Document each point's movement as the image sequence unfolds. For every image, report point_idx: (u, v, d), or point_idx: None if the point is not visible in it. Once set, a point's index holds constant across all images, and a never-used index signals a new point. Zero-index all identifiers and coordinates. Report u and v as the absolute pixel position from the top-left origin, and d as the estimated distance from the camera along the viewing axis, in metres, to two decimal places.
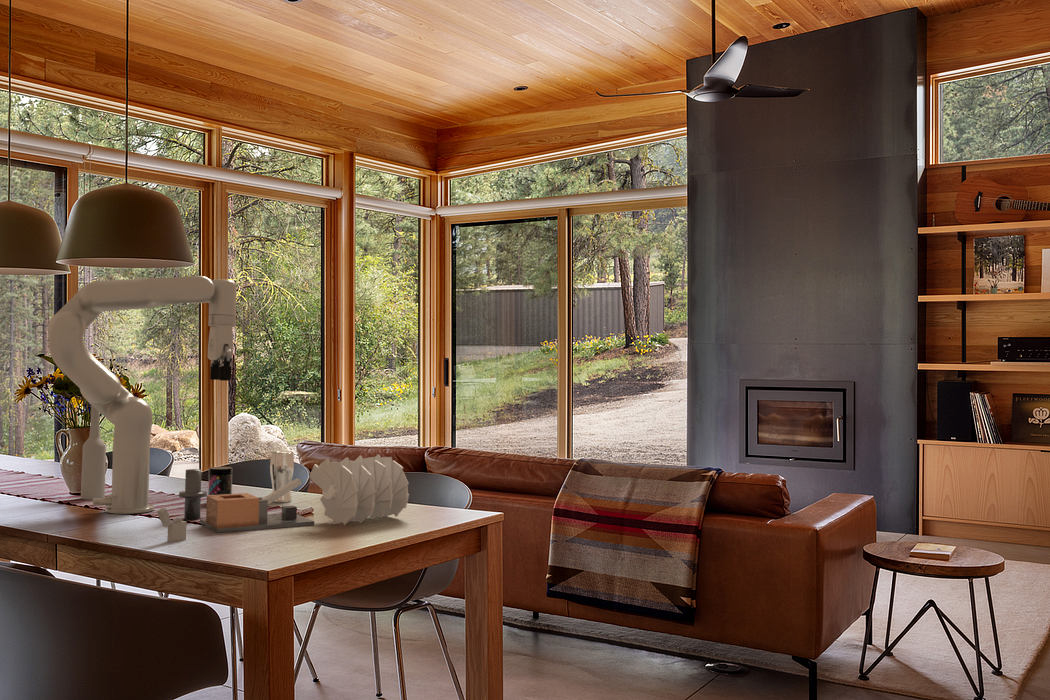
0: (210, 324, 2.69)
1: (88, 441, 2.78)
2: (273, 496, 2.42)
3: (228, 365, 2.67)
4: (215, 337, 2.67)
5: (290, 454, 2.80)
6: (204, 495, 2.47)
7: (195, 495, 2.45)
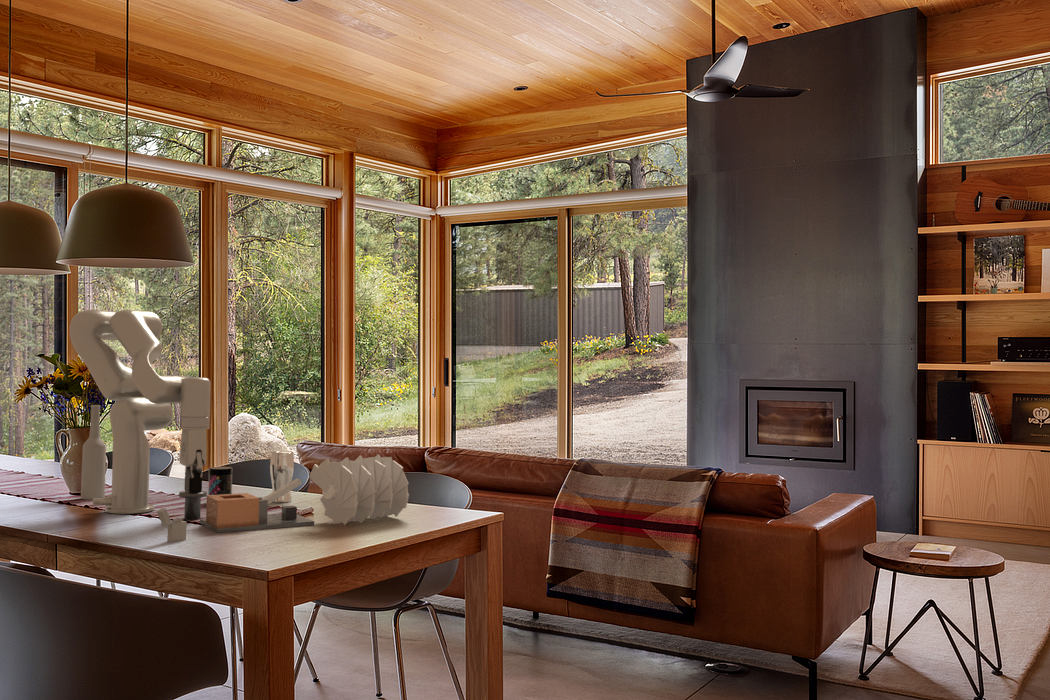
0: (182, 427, 2.45)
1: (88, 441, 2.78)
2: (273, 496, 2.42)
3: (198, 477, 2.45)
4: (187, 442, 2.44)
5: (290, 454, 2.80)
6: (204, 495, 2.47)
7: (195, 495, 2.45)
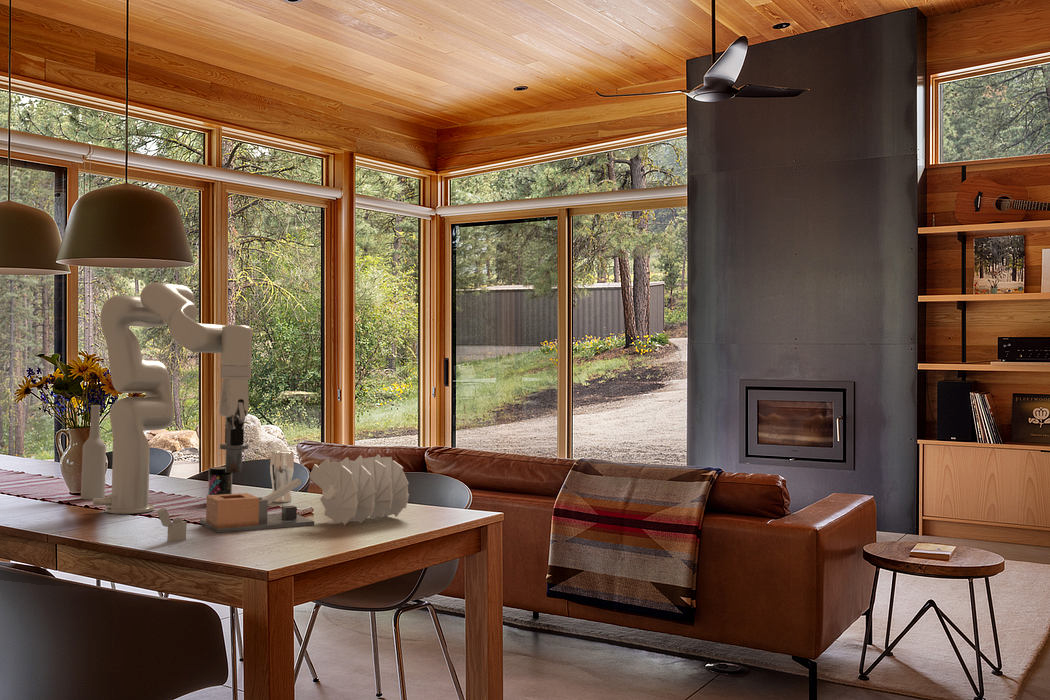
0: (223, 376, 2.36)
1: (88, 441, 2.78)
2: (273, 496, 2.42)
3: (240, 428, 2.35)
4: (228, 391, 2.34)
5: (290, 454, 2.80)
6: (246, 447, 2.37)
7: (237, 447, 2.35)
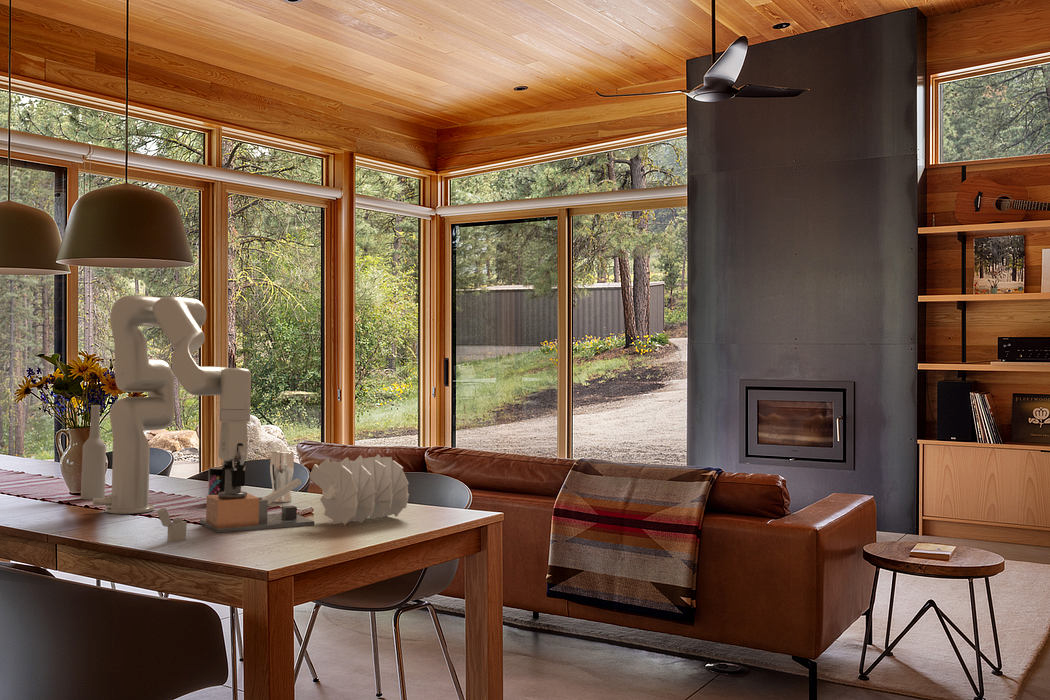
0: (222, 420, 2.35)
1: (88, 441, 2.78)
2: (273, 496, 2.42)
3: (241, 469, 2.34)
4: (227, 435, 2.34)
5: (290, 454, 2.80)
6: (244, 496, 2.37)
7: (235, 496, 2.35)
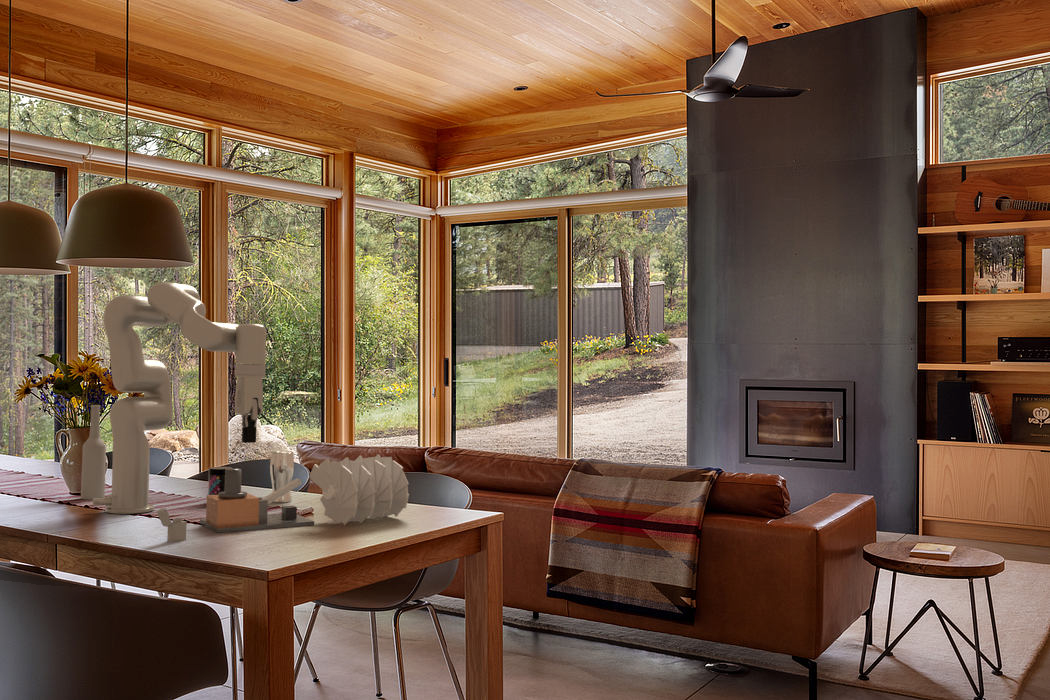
0: (237, 375, 2.38)
1: (88, 441, 2.78)
2: (273, 496, 2.42)
3: (253, 425, 2.39)
4: (243, 390, 2.36)
5: (290, 454, 2.80)
6: (244, 496, 2.37)
7: (235, 496, 2.35)
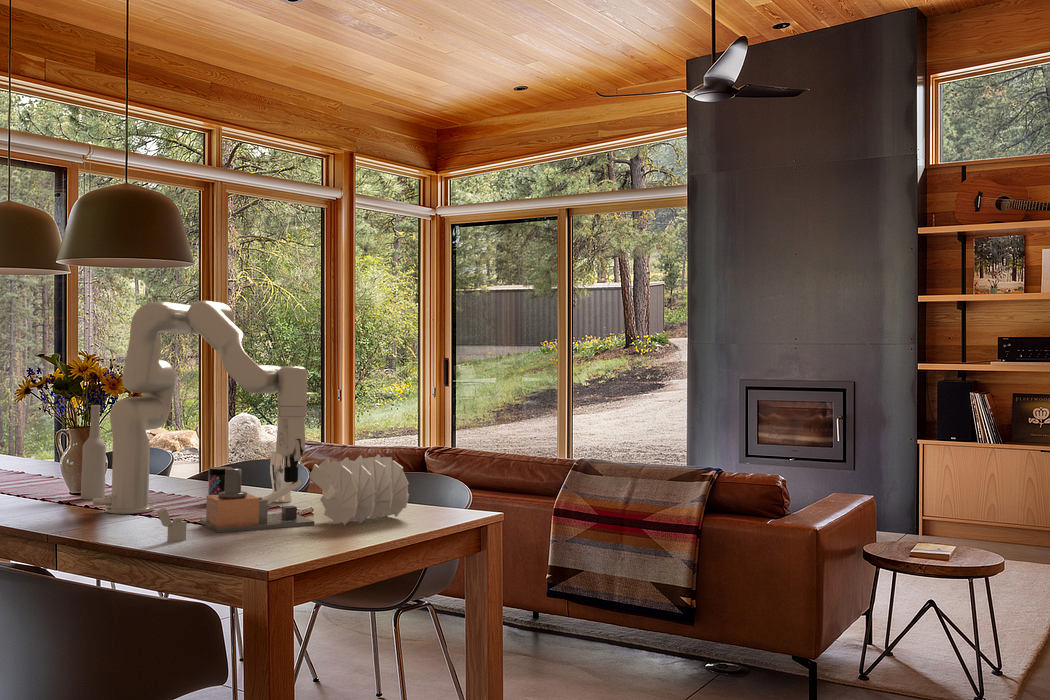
0: (280, 416, 2.44)
1: (88, 441, 2.78)
2: (273, 496, 2.42)
3: (295, 465, 2.45)
4: (286, 431, 2.42)
5: None
6: (244, 496, 2.37)
7: (235, 496, 2.35)
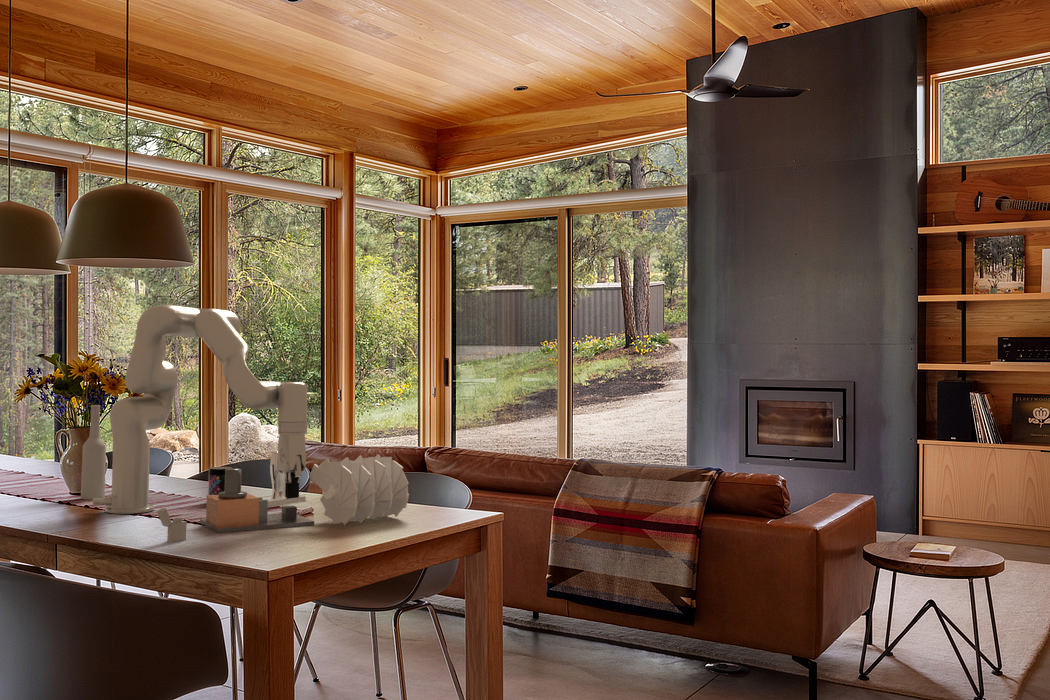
0: (280, 432, 2.43)
1: (88, 441, 2.78)
2: (275, 501, 2.43)
3: (296, 481, 2.45)
4: (287, 447, 2.42)
5: None
6: (244, 496, 2.37)
7: (235, 496, 2.35)
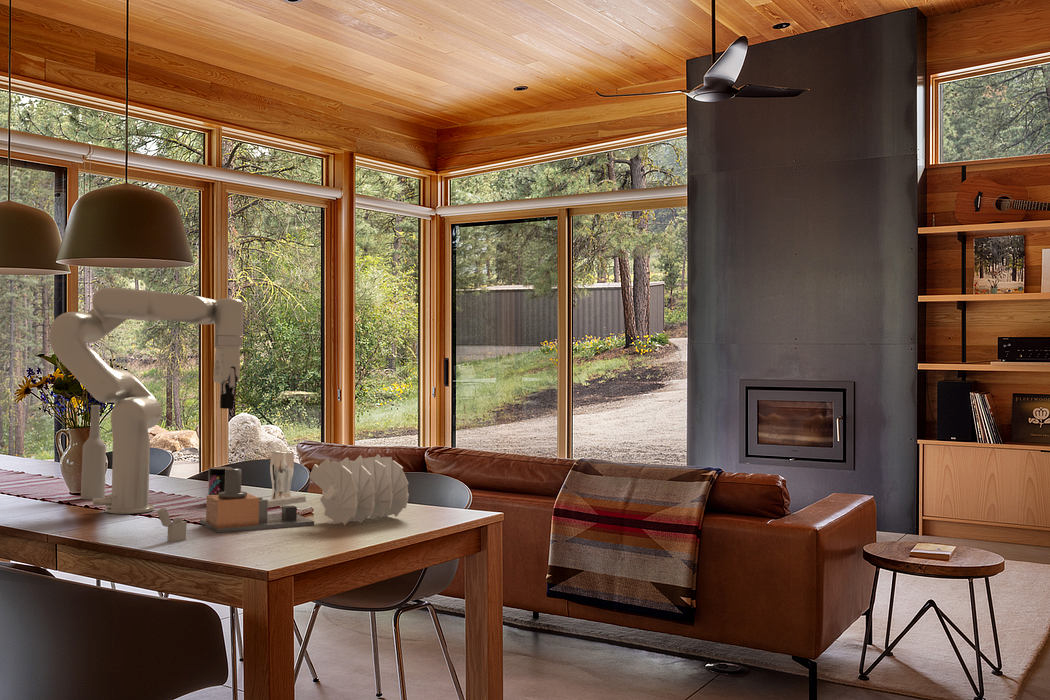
0: (216, 345, 2.56)
1: (88, 441, 2.78)
2: (275, 502, 2.43)
3: (230, 393, 2.58)
4: (221, 359, 2.55)
5: (290, 454, 2.80)
6: (244, 496, 2.37)
7: (235, 496, 2.35)
